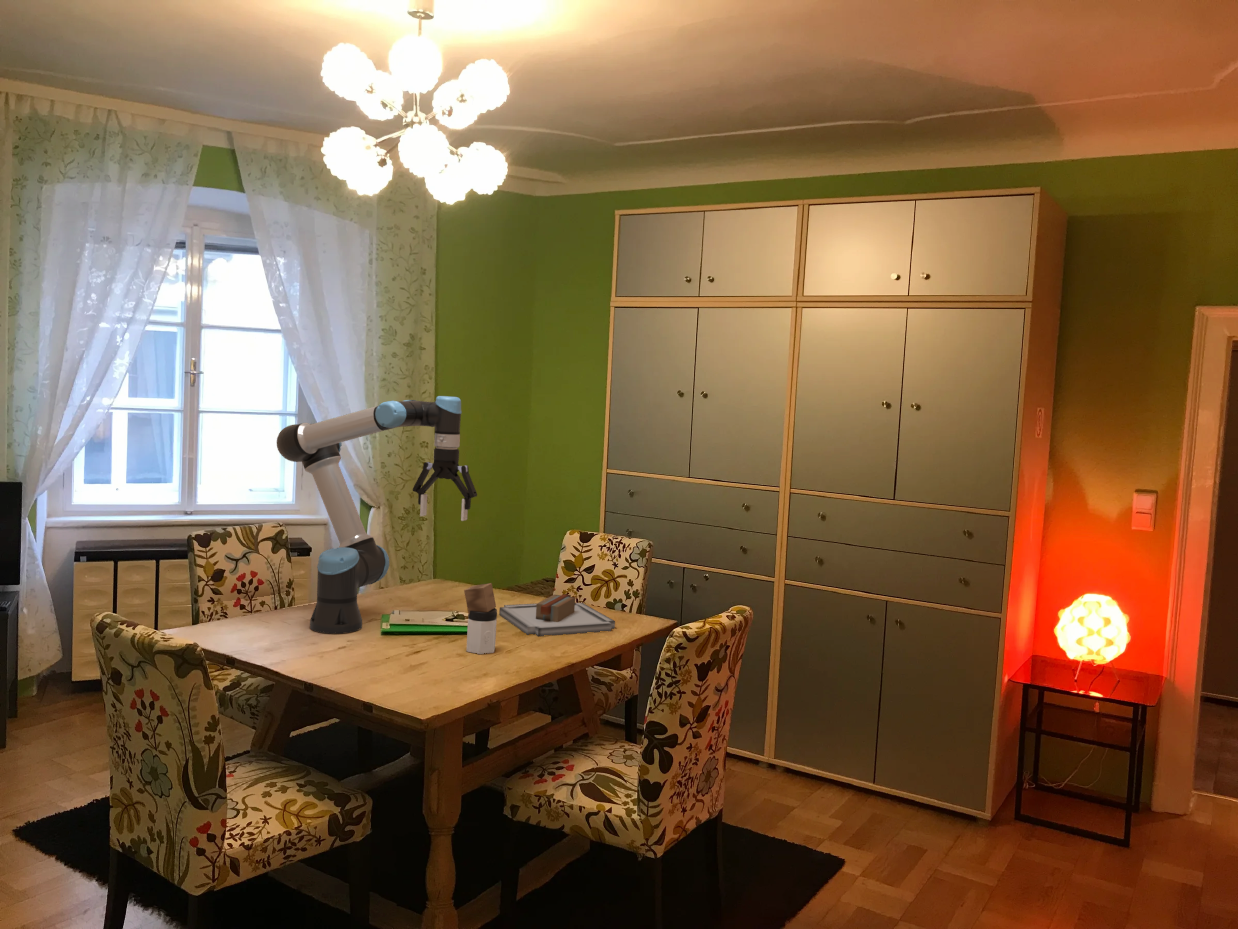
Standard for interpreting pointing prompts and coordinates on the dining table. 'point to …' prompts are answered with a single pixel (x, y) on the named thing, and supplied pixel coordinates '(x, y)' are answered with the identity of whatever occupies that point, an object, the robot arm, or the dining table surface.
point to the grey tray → (556, 617)
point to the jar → (481, 631)
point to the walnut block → (480, 598)
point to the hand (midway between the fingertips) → (443, 518)
